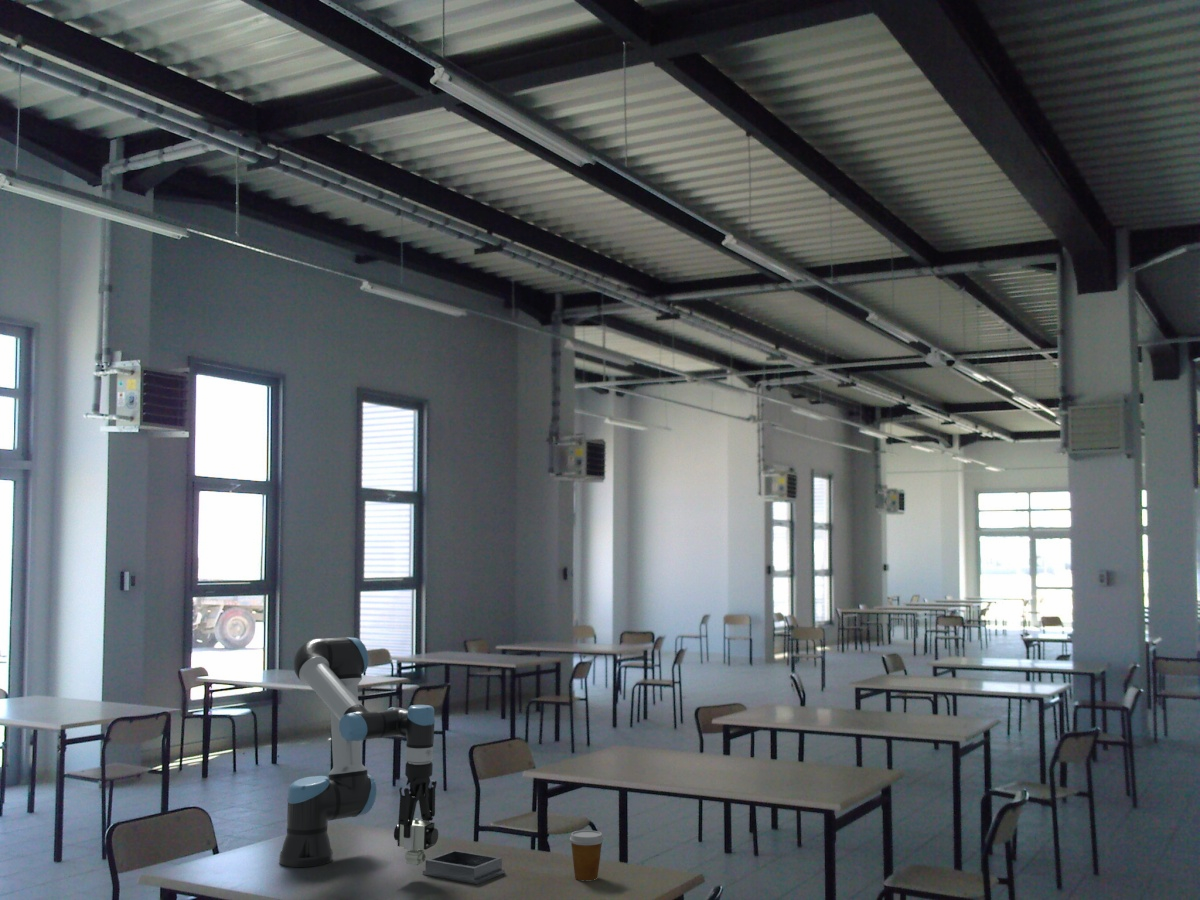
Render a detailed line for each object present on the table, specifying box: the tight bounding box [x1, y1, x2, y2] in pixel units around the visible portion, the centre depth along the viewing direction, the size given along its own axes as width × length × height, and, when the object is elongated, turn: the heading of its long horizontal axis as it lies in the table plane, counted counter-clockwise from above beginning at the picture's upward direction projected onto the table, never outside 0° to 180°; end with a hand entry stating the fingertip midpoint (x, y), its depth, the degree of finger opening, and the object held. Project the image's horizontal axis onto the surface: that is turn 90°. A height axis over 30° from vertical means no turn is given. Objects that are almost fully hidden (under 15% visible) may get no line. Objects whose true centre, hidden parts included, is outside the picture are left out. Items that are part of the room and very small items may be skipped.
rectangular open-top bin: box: [422, 849, 505, 885], centre depth 302 cm, size 19×13×4 cm
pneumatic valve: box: [393, 818, 439, 866], centre depth 298 cm, size 6×12×12 cm, turn 70°
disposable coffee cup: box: [569, 829, 604, 881], centre depth 299 cm, size 10×10×12 cm
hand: (415, 846), depth 298 cm, fingers closed on pneumatic valve, 6 cm apart
